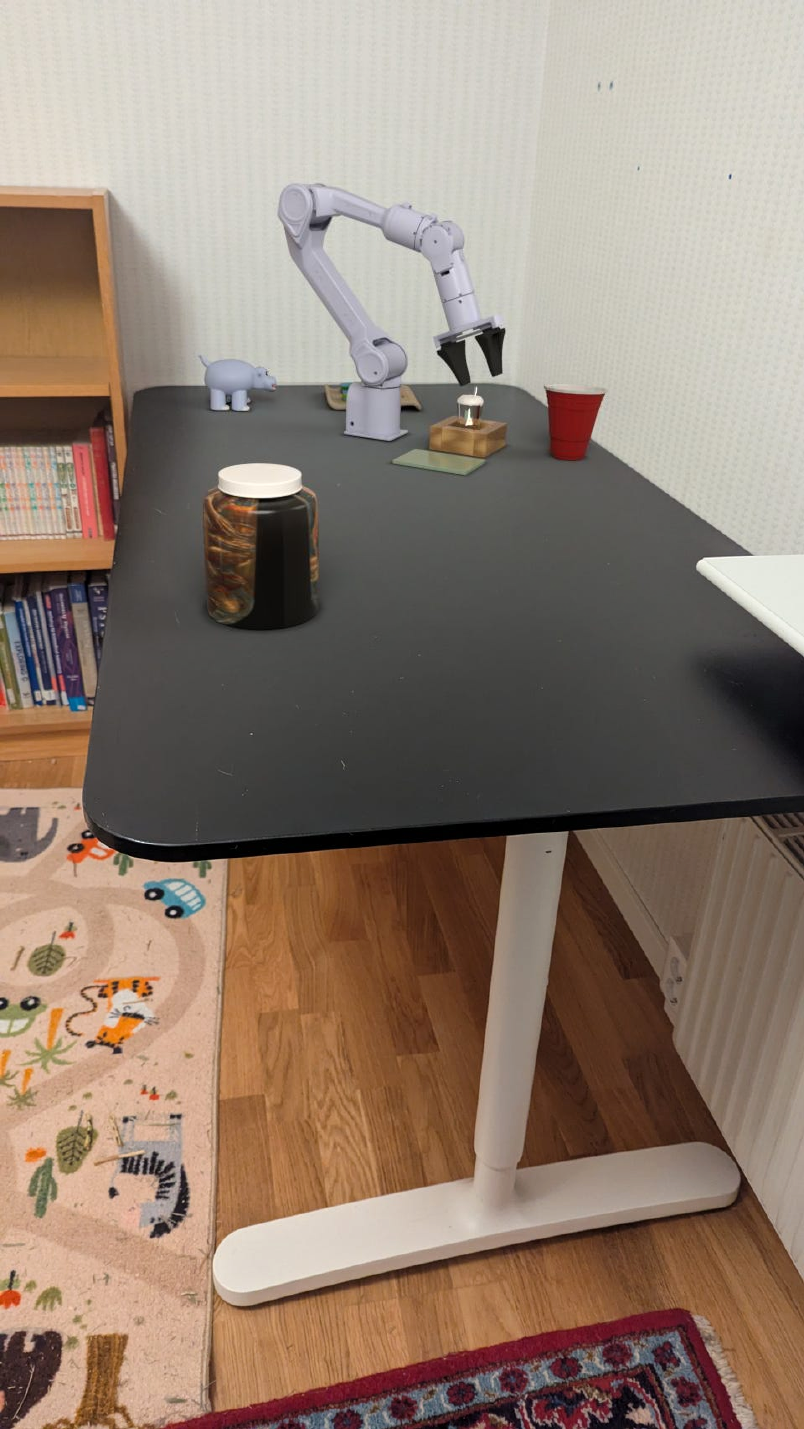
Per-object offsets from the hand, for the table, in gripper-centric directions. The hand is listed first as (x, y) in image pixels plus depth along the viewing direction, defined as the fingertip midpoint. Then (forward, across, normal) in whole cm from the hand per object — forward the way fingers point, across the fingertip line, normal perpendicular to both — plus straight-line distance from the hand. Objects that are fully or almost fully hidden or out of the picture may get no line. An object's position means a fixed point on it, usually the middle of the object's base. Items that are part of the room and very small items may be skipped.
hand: (481, 380), depth 173 cm
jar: (+13, -30, +76) cm, 83 cm away
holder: (+10, +6, +2) cm, 12 cm away
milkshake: (+10, +6, +2) cm, 12 cm away
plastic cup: (+17, -8, -8) cm, 20 cm away
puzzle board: (-1, +41, -11) cm, 43 cm away
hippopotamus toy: (-9, +52, +13) cm, 54 cm away
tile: (+10, +1, +14) cm, 18 cm away
